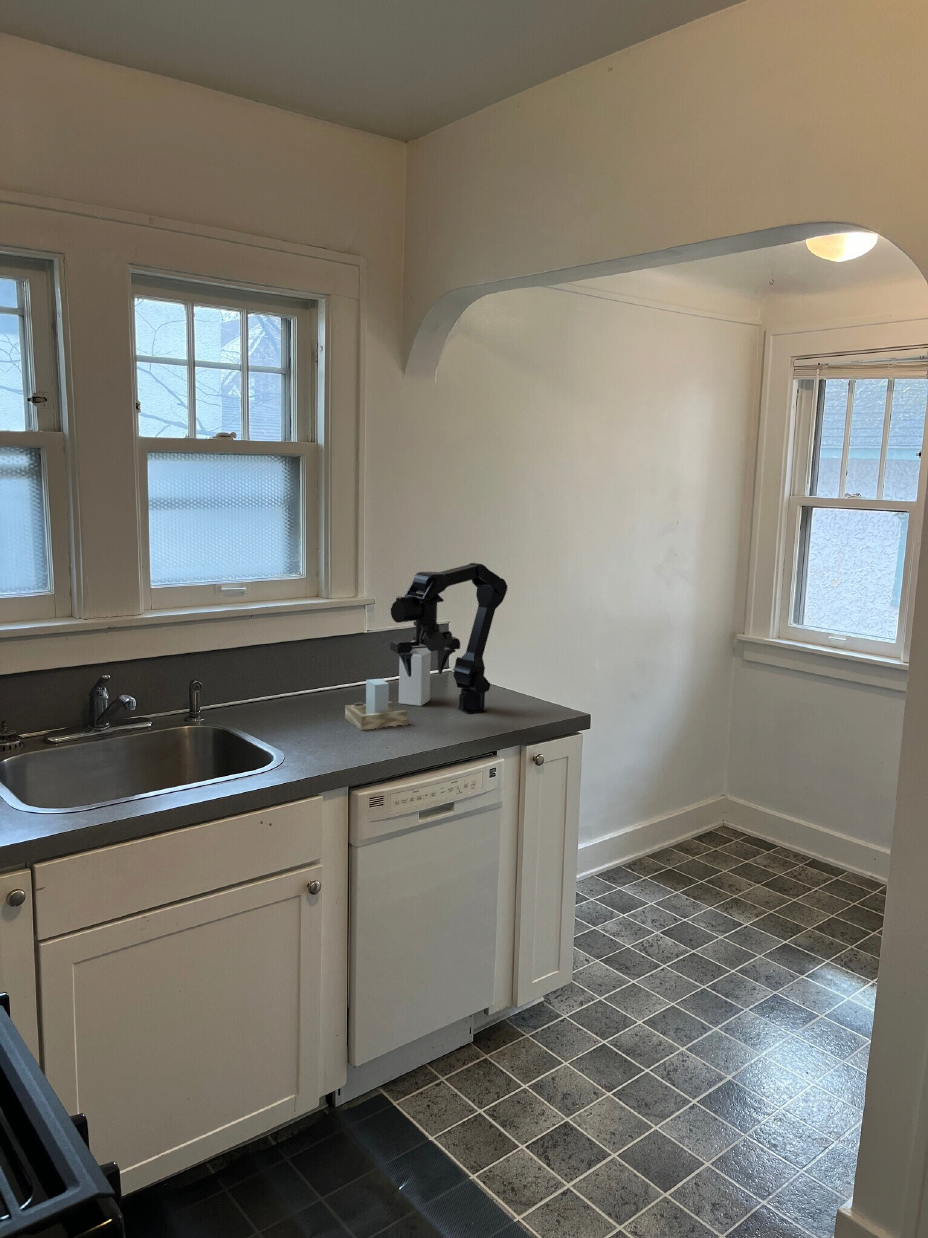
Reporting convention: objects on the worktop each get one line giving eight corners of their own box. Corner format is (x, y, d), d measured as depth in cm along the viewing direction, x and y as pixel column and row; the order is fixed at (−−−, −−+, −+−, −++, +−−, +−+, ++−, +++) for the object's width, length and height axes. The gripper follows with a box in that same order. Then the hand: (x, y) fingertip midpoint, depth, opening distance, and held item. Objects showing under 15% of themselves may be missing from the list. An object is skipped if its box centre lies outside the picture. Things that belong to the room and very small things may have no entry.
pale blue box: (379, 713, 257) (379, 678, 256) (388, 719, 252) (388, 683, 251) (365, 715, 256) (366, 679, 254) (374, 721, 250) (375, 684, 249)
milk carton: (429, 700, 277) (431, 638, 274) (420, 706, 271) (422, 642, 267) (407, 698, 280) (409, 636, 276) (398, 703, 273) (399, 640, 270)
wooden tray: (391, 713, 263) (391, 698, 262) (409, 724, 252) (409, 709, 252) (345, 718, 256) (345, 703, 255) (361, 730, 246) (361, 714, 245)
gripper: (407, 626, 240) (405, 685, 242) (470, 622, 248) (468, 679, 251) (389, 618, 249) (388, 675, 252) (451, 615, 258) (449, 670, 261)
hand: (424, 675), depth 254 cm, fingers open, 9 cm apart
